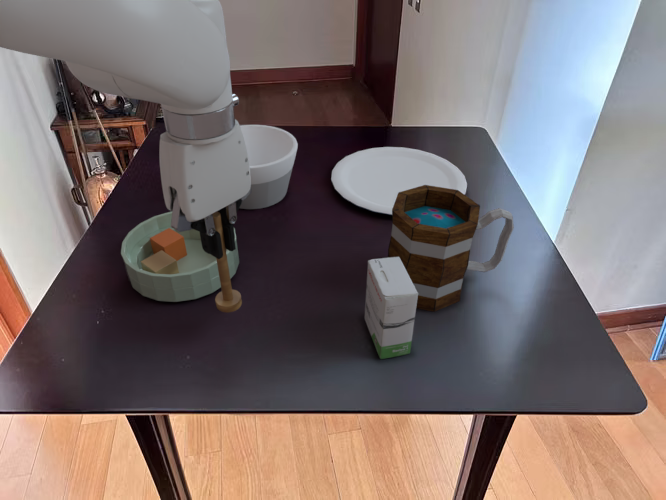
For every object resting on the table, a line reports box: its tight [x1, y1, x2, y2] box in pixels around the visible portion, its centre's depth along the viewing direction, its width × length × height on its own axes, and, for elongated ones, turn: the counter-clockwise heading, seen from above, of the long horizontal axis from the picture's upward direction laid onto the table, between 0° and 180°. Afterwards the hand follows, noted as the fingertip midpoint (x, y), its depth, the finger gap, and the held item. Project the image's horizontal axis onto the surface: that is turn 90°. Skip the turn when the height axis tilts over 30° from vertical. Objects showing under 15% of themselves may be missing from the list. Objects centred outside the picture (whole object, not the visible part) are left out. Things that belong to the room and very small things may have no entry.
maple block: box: [141, 250, 179, 274], centre depth 83 cm, size 4×4×4 cm
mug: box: [387, 185, 515, 312], centre depth 82 cm, size 20×14×15 cm
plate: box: [330, 146, 468, 216], centre depth 111 cm, size 29×29×2 cm
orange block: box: [150, 228, 187, 261], centre depth 88 cm, size 4×4×4 cm
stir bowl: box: [120, 210, 240, 303], centre depth 86 cm, size 18×18×6 cm
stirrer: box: [212, 212, 243, 314], centre depth 69 cm, size 4×4×15 cm
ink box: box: [364, 257, 418, 360], centre depth 73 cm, size 9×5×12 cm, turn 13°
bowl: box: [239, 124, 299, 210], centre depth 105 cm, size 19×19×11 cm
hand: (219, 249), depth 67 cm, fingers closed on stirrer, 1 cm apart
